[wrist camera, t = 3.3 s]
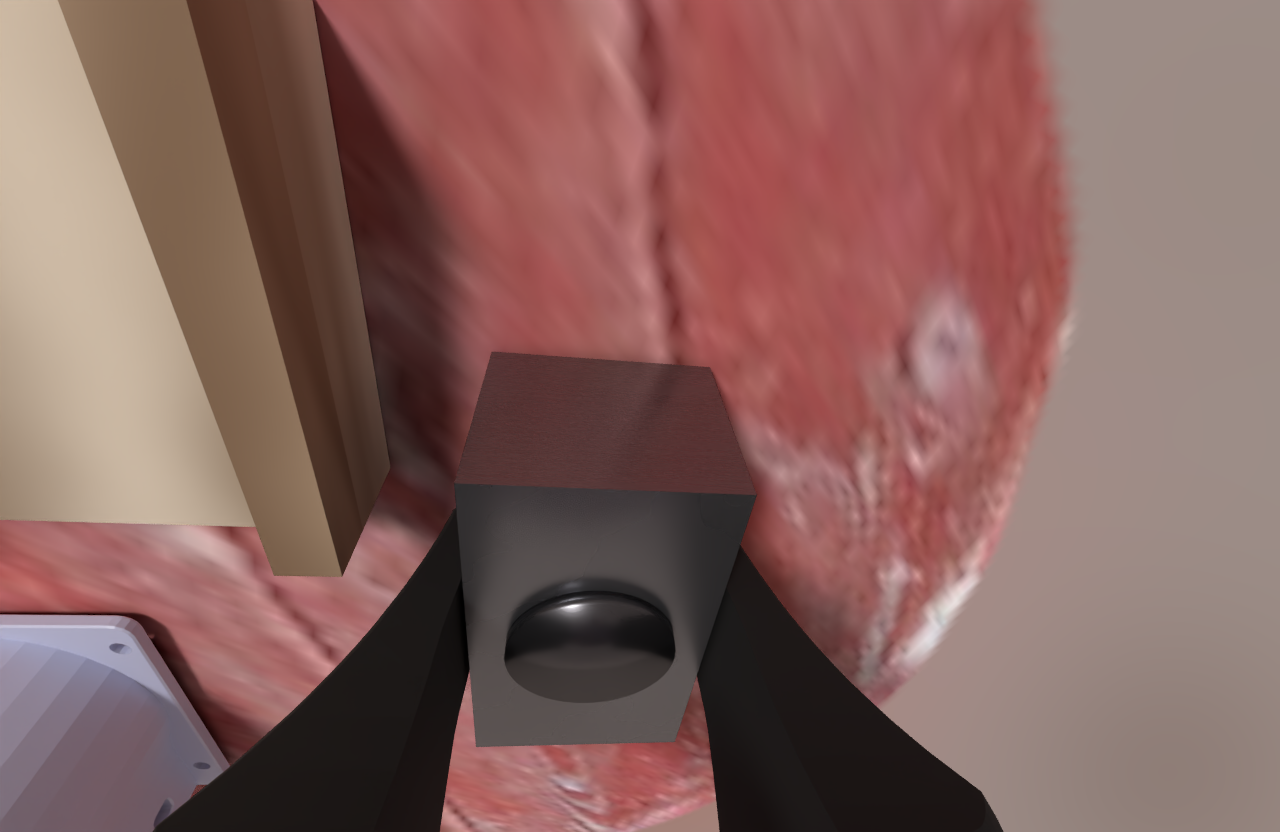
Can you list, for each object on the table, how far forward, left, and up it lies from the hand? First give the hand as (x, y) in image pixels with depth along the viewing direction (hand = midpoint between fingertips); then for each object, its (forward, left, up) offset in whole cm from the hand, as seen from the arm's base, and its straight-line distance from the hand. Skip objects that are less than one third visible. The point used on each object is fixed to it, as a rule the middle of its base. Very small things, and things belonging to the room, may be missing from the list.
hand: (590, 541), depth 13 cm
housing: (0, 0, -1) cm, 1 cm away
